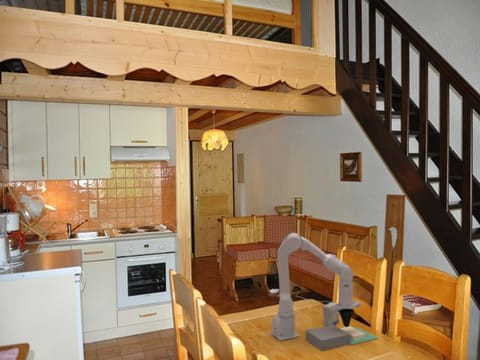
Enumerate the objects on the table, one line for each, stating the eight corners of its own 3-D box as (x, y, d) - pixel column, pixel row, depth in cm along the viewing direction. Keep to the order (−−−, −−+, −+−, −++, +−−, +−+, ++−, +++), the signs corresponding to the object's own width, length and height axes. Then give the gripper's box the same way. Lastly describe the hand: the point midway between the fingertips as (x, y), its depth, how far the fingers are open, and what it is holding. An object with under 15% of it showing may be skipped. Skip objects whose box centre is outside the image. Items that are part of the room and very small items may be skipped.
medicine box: (332, 326, 168) (332, 307, 168) (323, 324, 170) (322, 306, 171) (339, 321, 174) (338, 303, 174) (330, 319, 177) (329, 301, 177)
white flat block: (364, 333, 154) (364, 338, 154) (350, 326, 162) (350, 330, 162) (353, 336, 152) (353, 341, 152) (339, 328, 160) (339, 333, 160)
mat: (351, 345, 149) (351, 344, 149) (331, 333, 161) (331, 332, 161) (378, 338, 154) (378, 338, 154) (357, 327, 166) (357, 327, 166)
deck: (321, 350, 144) (321, 340, 144) (305, 339, 154) (305, 330, 154) (350, 344, 150) (349, 334, 150) (333, 333, 160) (332, 324, 160)
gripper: (337, 299, 149) (338, 332, 149) (365, 294, 155) (366, 326, 155) (327, 294, 156) (327, 326, 156) (354, 289, 162) (354, 320, 162)
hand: (346, 326), depth 156 cm, fingers closed
